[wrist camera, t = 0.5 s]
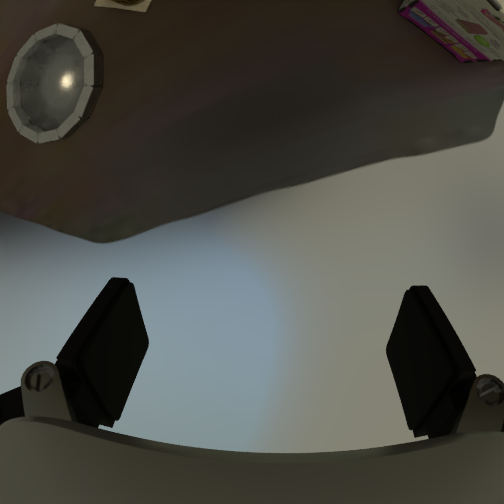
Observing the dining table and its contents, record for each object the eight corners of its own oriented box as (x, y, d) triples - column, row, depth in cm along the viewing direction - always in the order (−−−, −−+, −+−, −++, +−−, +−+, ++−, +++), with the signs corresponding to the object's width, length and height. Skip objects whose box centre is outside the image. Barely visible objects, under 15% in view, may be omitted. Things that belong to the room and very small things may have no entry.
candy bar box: (472, 39, 25) (554, 33, 11) (461, 64, 27) (546, 65, 13) (408, -13, 23) (475, -53, 9) (394, 12, 25) (463, -24, 11)
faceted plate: (17, 46, 28) (7, 46, 26) (104, 13, 27) (95, 9, 25) (20, 146, 36) (11, 149, 34) (105, 130, 35) (96, 133, 33)
